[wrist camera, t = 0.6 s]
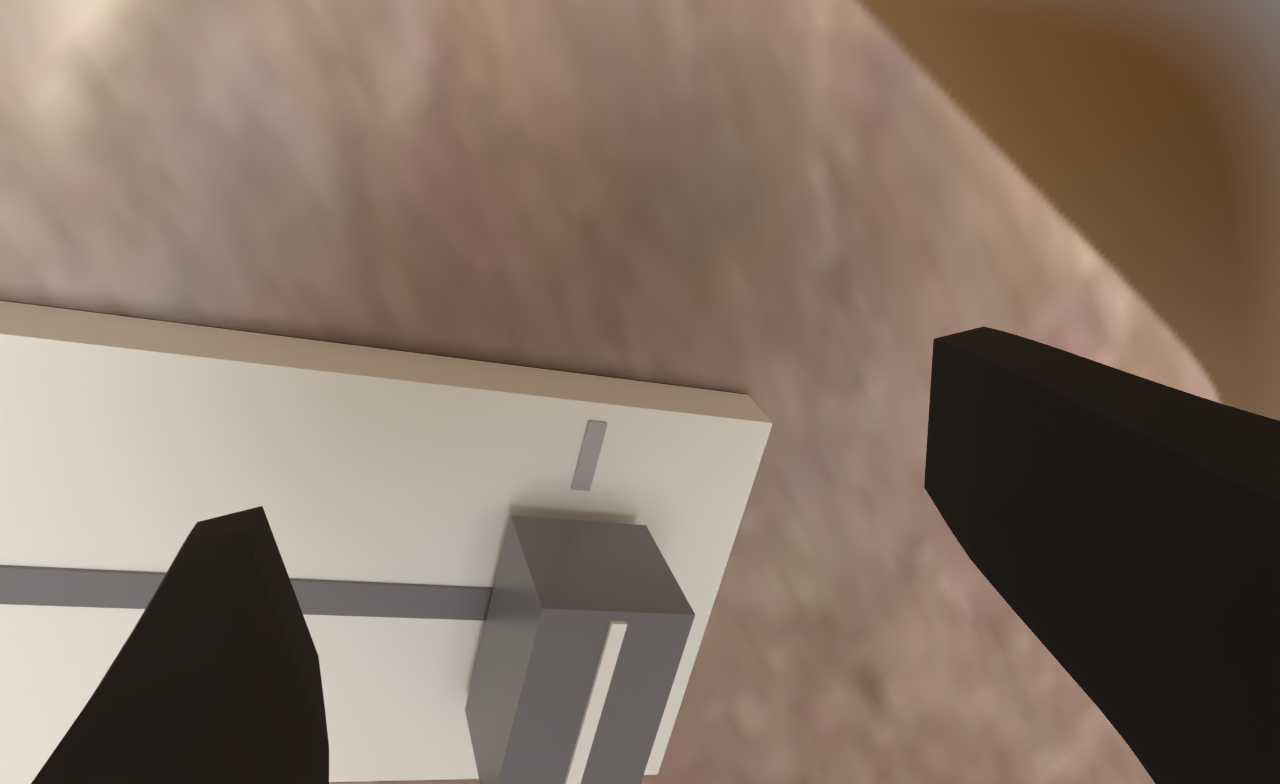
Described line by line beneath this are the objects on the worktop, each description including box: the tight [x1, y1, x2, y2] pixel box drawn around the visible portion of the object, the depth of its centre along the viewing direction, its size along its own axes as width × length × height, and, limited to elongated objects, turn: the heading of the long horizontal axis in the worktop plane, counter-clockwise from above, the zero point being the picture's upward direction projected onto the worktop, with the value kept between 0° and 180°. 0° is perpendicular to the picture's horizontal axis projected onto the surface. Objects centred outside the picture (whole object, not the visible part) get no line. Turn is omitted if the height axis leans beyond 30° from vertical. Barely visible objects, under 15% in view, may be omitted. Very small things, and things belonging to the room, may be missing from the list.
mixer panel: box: [0, 301, 773, 784], centre depth 21 cm, size 10×24×2 cm, turn 75°
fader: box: [465, 516, 695, 784], centre depth 21 cm, size 5×3×3 cm, turn 165°
